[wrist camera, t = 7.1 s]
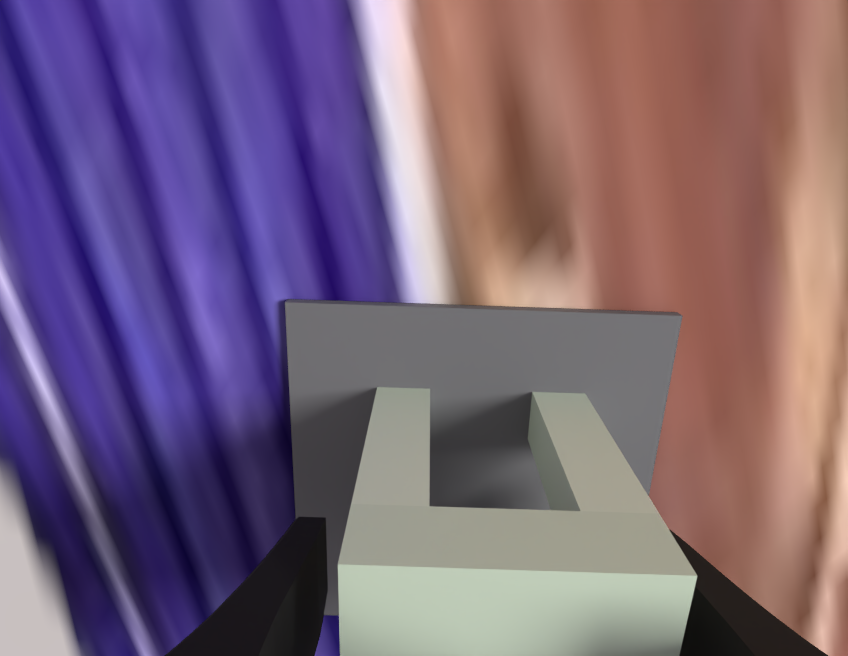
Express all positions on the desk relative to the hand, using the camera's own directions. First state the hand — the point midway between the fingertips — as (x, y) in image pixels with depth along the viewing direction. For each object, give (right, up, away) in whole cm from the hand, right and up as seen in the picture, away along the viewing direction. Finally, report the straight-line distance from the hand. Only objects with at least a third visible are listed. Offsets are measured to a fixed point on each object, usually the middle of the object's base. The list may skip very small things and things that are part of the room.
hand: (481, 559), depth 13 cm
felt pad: (0, +1, +3) cm, 3 cm away
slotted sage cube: (0, +1, +3) cm, 3 cm away
